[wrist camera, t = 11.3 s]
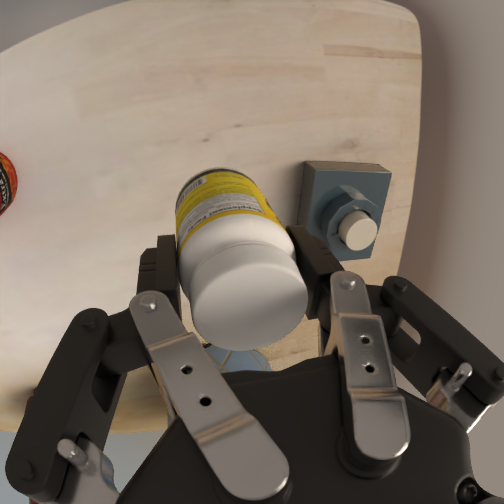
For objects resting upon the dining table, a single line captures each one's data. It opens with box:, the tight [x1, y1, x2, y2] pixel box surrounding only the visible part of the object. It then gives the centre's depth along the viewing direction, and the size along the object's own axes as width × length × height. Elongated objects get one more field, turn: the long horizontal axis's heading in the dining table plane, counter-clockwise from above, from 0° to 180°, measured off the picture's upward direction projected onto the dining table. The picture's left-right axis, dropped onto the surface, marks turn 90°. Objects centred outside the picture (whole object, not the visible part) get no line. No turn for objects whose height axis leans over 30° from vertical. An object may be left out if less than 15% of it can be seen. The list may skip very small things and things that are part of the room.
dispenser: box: [297, 161, 392, 261], centre depth 36 cm, size 12×10×5 cm
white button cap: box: [338, 210, 377, 250], centre depth 33 cm, size 4×4×2 cm
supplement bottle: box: [175, 167, 308, 351], centre depth 14 cm, size 5×5×8 cm
